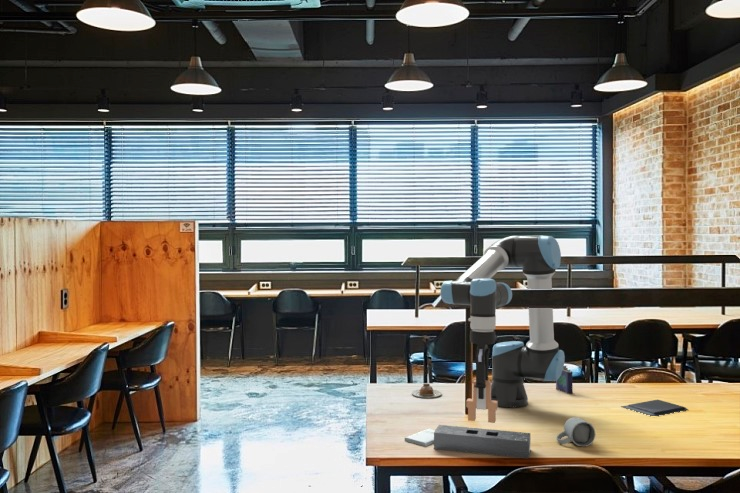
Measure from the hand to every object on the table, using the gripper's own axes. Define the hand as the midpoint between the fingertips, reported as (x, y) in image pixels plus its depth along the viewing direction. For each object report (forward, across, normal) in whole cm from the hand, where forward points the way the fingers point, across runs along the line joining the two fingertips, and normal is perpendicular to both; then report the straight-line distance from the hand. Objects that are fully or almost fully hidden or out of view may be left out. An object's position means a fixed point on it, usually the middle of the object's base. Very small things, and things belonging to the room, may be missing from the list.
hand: (482, 407), depth 191 cm
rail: (+13, 0, 0) cm, 13 cm away
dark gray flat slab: (+13, -63, +56) cm, 86 cm away
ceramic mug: (+13, -14, +27) cm, 33 cm away
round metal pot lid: (+13, -58, -29) cm, 66 cm away
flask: (+12, -79, +24) cm, 84 cm away
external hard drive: (+14, -5, -18) cm, 23 cm away
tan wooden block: (+4, 0, 0) cm, 4 cm away
